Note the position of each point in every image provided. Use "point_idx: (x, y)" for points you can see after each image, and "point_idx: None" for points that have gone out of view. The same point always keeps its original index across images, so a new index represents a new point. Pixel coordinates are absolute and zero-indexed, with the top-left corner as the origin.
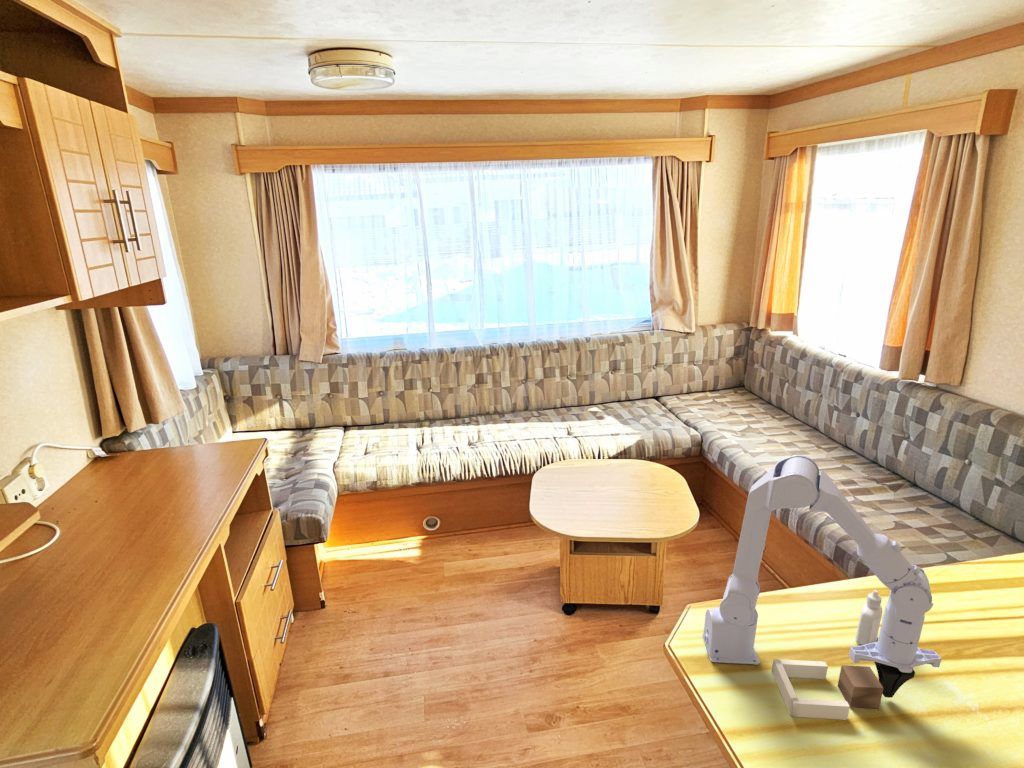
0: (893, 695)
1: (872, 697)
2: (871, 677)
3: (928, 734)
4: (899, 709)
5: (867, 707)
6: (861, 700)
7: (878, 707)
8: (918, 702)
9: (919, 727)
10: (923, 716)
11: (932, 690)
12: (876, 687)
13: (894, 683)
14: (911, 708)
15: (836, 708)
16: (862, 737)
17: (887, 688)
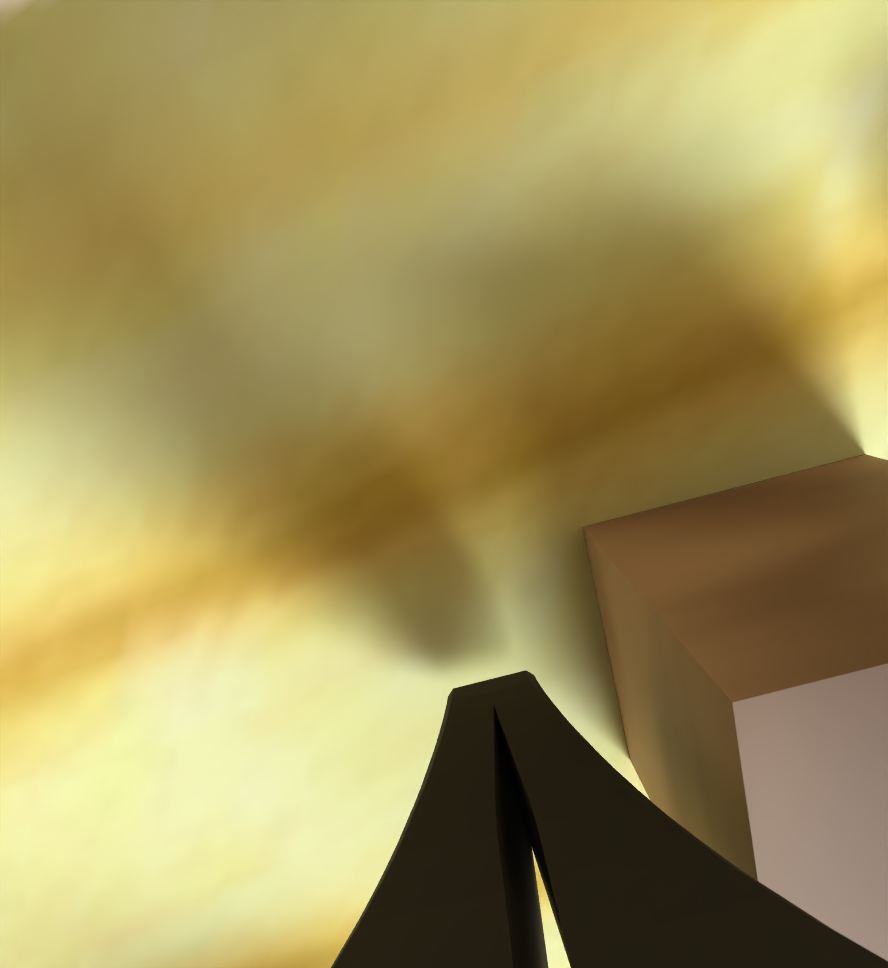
0: (450, 706)
1: (756, 564)
2: (850, 871)
3: (155, 347)
4: (380, 596)
5: (703, 504)
6: (845, 511)
7: (597, 536)
8: (188, 740)
9: (231, 418)
10: (169, 582)
11: (47, 913)
12: (852, 677)
13: (504, 866)
14: (265, 646)
15: None
16: (877, 45)
17: (583, 749)
